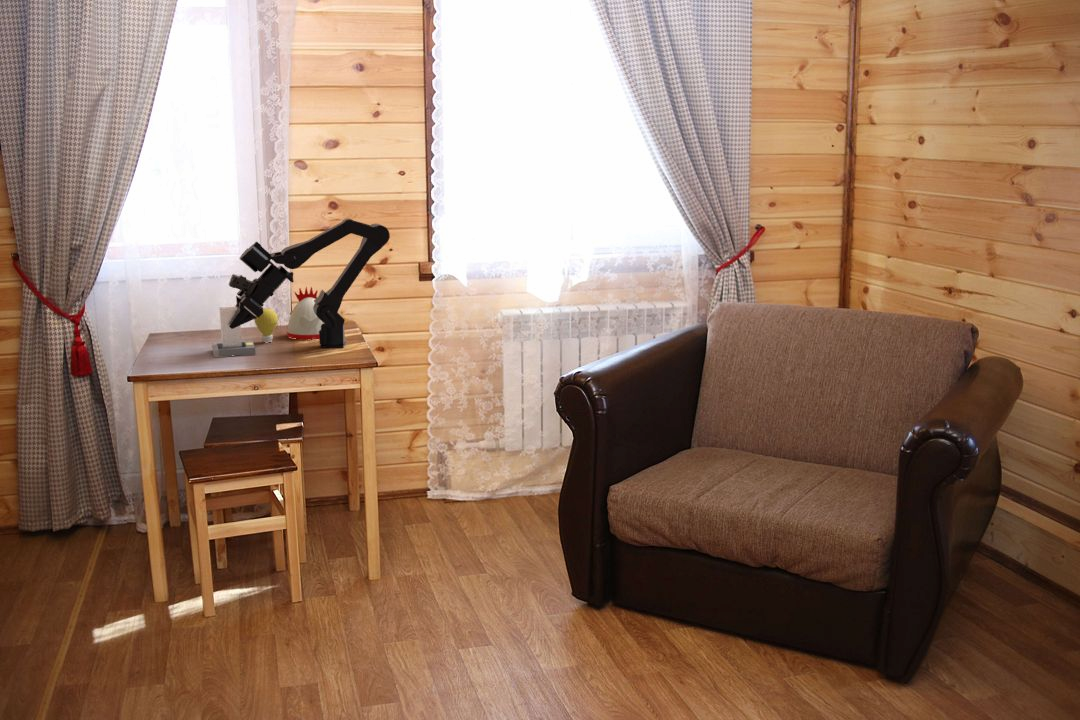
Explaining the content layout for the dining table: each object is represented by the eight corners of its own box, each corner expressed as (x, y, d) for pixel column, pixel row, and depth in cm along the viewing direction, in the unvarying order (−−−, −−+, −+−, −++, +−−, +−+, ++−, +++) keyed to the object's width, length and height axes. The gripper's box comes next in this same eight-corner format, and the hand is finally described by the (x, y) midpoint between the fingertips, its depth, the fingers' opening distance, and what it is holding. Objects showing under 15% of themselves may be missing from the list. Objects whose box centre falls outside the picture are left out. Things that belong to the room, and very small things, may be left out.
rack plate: (252, 347, 304) (252, 340, 303) (255, 354, 294) (255, 346, 294) (212, 350, 300) (212, 342, 300) (214, 357, 291) (213, 349, 290)
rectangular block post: (240, 350, 300) (238, 306, 297) (242, 353, 296) (239, 309, 293) (222, 351, 298) (219, 307, 296) (223, 355, 294) (220, 310, 291)
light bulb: (267, 345, 307) (265, 311, 304) (250, 343, 310) (248, 309, 308) (284, 341, 312) (282, 308, 310) (267, 339, 316) (265, 306, 313)
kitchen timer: (288, 332, 327) (285, 284, 323) (333, 330, 329) (331, 282, 326) (286, 341, 313) (284, 290, 310) (334, 339, 316) (332, 289, 313)
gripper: (242, 260, 302) (205, 300, 301) (247, 268, 285) (207, 311, 284) (272, 286, 306) (235, 326, 305) (279, 295, 289) (240, 338, 288)
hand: (229, 324), depth 295 cm, fingers open, 9 cm apart
